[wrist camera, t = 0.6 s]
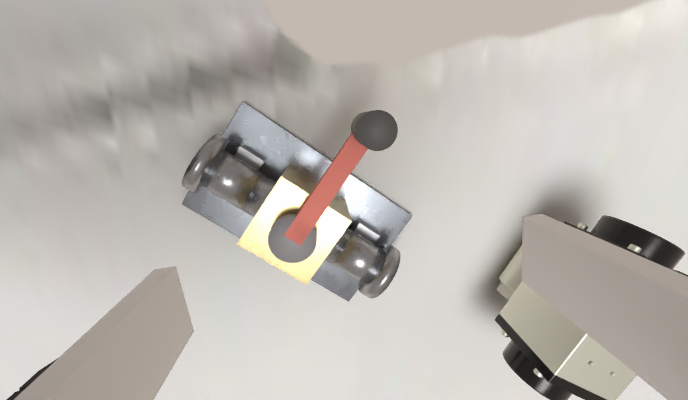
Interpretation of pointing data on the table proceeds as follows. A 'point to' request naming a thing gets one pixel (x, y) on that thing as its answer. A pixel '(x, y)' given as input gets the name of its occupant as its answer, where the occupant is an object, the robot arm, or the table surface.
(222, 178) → the valve assembly
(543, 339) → the ball valve
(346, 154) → the lever
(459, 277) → the table surface
